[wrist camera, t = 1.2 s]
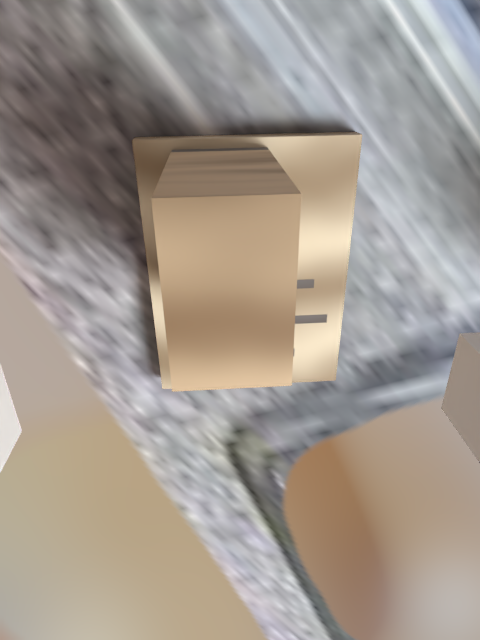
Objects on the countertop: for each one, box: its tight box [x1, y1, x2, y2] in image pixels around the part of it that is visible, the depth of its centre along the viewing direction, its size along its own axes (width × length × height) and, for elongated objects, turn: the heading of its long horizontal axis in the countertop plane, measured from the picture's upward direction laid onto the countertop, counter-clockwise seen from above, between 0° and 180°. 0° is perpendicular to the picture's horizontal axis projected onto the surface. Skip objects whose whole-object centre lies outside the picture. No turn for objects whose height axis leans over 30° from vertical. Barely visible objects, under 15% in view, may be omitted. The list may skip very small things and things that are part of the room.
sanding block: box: [151, 147, 301, 392], centre depth 21 cm, size 8×5×10 cm, turn 1°
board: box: [132, 132, 362, 389], centre depth 28 cm, size 16×12×1 cm
